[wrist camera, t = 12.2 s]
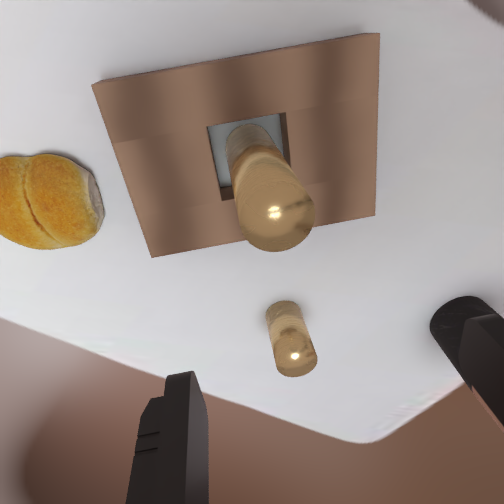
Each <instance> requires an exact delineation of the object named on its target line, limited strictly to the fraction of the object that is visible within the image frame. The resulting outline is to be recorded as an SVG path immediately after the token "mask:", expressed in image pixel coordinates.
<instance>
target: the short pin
mask: <svg viewBox="0 0 504 504" xmlns="http://www.w3.org/2000/svg"><path fill="white" fill-rule="evenodd" d="M266 322H267V326H268V331H269V335H270V340H271V344H272V349H273V353H274V358H275V362H276V367H277V370H278V371H279V372H280V373H281V374H282V375H284V376H288V377H299V376H303V375H305V374H307V373H309V372H310V371H311V370H313V369H314V367H315V366H316V364H317V355H316V352H315V349H314V347H313V344H312V341H311V338H310V335H309V333H308V330H307V327H306V324H305V321H304V318H303V316H302V313H301V310H300V308H299V306H298V305H297V304H296V303H294V302H291V301H280V302H277V303H275V304H273V305H272V306H270V307H269V309H268V310H267V312H266Z"/></svg>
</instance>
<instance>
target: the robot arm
mask: <svg viewBox="0 0 504 504" xmlns="http://www.w3.org/2000/svg"><path fill="white" fill-rule="evenodd" d="M458 359H459V364H460V367H461V370H462V372H463V374H464V375H465V377H466V378H467V379H468V381H469V382H470V383H471V385H472V386H473V387H474V389H475V390H476V391H477V392H478V394H479V395H480V396H481V398H482V399H483V400H484V402H485V403H486V404H487V406H488V407H489V408H490V410H491V411H492V412H493V413H494V415H495V416H496V417H497V419H498V420H499V421H500V423H501V424H502V425H503V427H504V319H503V318H502V317H501V316H499V315H497V314H490V315H484V316H479V317H474V318H469V319H467V320H466V321H465V324H464V329H463V334H462V339H461V344H460V349H459V354H458ZM137 436H138V439H137V441H136V447H135V456H134V458H133V464H132V470H131V475H130V482H129V487H128V493H127V499H126V504H209V492H208V491H209V490H208V489H209V485H208V484H209V481H208V480H209V476H208V415H207V409H206V405H205V401H204V398H203V395H202V392H201V390H200V387H199V384H198V381H197V378H196V375H195V373H194V371H188V372H183V373H178V374H173V375H168V376H167V378H166V382H165V391H164V396H162V397H157V398H152V399H151V400H150V401H149V403H148V405H147V406H146V408H145V410H144V412H143V414H142V415H141V418H140V424H139V429H138V435H137Z"/></svg>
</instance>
